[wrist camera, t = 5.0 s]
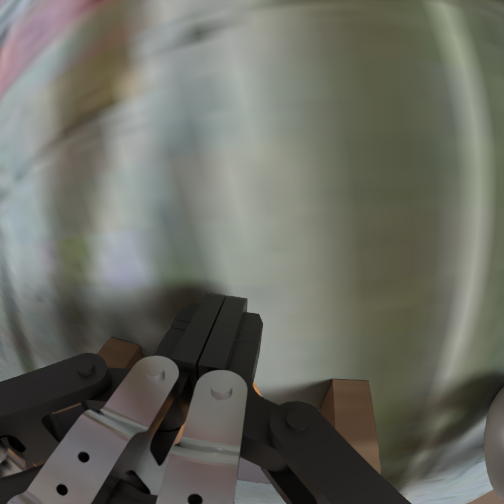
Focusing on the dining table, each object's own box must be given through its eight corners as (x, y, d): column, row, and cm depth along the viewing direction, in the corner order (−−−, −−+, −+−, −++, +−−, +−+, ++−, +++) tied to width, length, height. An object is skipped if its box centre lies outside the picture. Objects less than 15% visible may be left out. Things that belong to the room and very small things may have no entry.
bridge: (110, 336, 15) (24, 456, 6) (368, 380, 13) (383, 545, 5) (121, 370, 16) (54, 481, 8) (351, 411, 14) (354, 553, 6)
